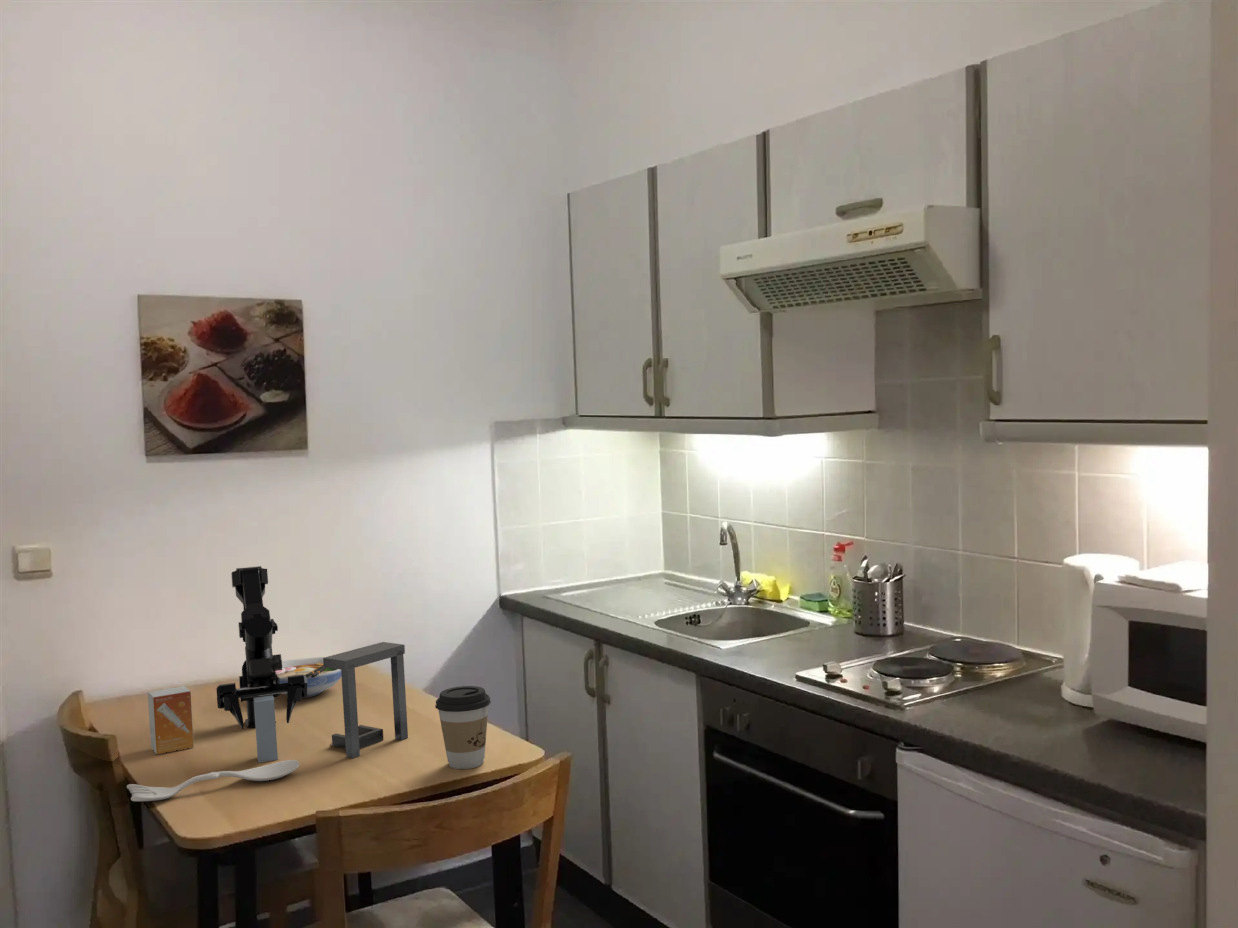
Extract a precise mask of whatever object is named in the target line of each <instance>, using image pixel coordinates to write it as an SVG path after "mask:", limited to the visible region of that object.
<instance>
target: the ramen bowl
mask: <svg viewBox="0 0 1238 928" xmlns="http://www.w3.org/2000/svg"><path fill="white" fill-rule="evenodd" d="M324 657H325V656H317V657H304V658H303V657H302V658H296V659H288V660H284V661H283V660H282V670H277V671H275V672H276V674H277V676H278V677H279V684H282V683H288V676H294V675H302V674H304V675H305V676H306V677H307V696H306V697H305V698H306V699H307V698H310V697H316V696H317V695H320V694H321V693H322V692H324V691H326V690H328V689H331V688H332V687H334V686H335V685H336V684H338V682H339V681H340V679H342V676H341V670H340V669H333V668H327V667H324V665H323V658H324ZM281 694H283V695H285V696H286V695H287V692H286V693H281ZM305 698H304V699H305Z"/></svg>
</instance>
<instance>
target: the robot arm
mask: <svg viewBox="0 0 1238 928" xmlns="http://www.w3.org/2000/svg"><path fill="white" fill-rule="evenodd" d="M268 573H269V572H268V569H267V568H263V567H262V565H259V566H258V565H257V566H248V567H237V568H236V569H235V570H234V571H232V572H231V575H230V576H231V586H232V588H235V590H234V591H235V596H236V598H237V599H238V600H239V601H240V603H241V604H242V606H243V607H242V608H243V610H242V611H241V613H240V618H241V619H240V621H239V622H238V636H239V639H242V642H244V643H245V647H244V651H245V653H244V654H245V660H244V662H243V663H242V666H241V675H239V676H238V678H239V679H238V680H239V681H238V682H239V685H238V686H239V688H237V687H236V685H237V684H236V682H230V683H221V684H218V685H217V687H216V688H215V690H216V703H217V708H218V709H220V710H222V709H223V710H224V711H225V712H229V713H231V715H232V716H233V718H235V720H236V722H237V724H238V726H239V727H240V729H241V730H244V729H245V727H244V726H245V725H246V727H247V728H254V727H255V712H254V698H256V697H264V696H271V695H273V697H274V698H278V696H280V695H281V694H282V693H286V692H287V696H286V714H285V715H286V716H285V717H286V724H290V721H291V717H292V714H293V710H294V708H295V706H296V705H297V703H298V702H301V701H302V699H305V697H306V696H307V677H306V676H305V675H304V674H302V675H294V676H288V683H282V684H279V677H278V676H277V674H276V672H275V671H277V670H282V662H283V659H282V654H281V653H278V654H273V647H272V645H273V635H275V634H276V632H278V631H279V630H278V624H277V623H276V621H275V620H274V618H271V614H270V613H271V612H270V609H268V608H267V607H265V606H264V601H263V597H264V595H266V594H265V593H266V585H269V576H268V575H269V574H268ZM306 698H307V697H306ZM240 702H241V703H242V702H246V713H247V714H246V715H247V718H246V719H244V718H243V717H244V716H243V713H242V708H241V705H240ZM244 722H245V725H244ZM275 722H276V723H277V721H276V720H275Z"/></svg>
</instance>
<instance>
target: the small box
mask: <svg viewBox="0 0 1238 928" xmlns="http://www.w3.org/2000/svg"><path fill="white" fill-rule="evenodd" d="M191 693H192V692H191V690H190V689H189V688H188V687H186V685H182V686H177V687H170V688H169V687H168V688H165V689H164V688H163V689H161V690H160V689H159V690H153V691H152V690H151V691H148V692H147V702H148V705H147V706H148V720H149V721H148V722H149V736H150V738H149V739H150V748H152V749H153V750H154V751H153V750H152V749H151V750H152V751H153V752H154V754H155V755H161V754H166V752H167V753H170V752H171V753H172V752H177V751H176V750H178V751H183V749H184V750H188V749H187V748H189V749H194V748H193V747H195V746H194V743H195V742H194V728H193V727H194V725H193V713H192V712H193V709H192V694H191Z"/></svg>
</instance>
